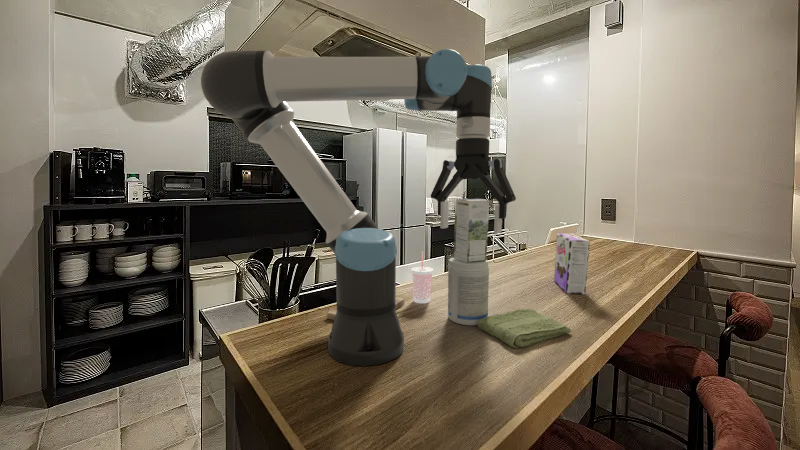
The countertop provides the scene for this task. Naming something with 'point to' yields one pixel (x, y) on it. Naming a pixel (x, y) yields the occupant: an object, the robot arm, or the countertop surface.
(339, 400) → the countertop surface
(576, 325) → the countertop surface
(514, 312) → the washcloth
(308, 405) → the countertop surface
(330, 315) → the beech cutting board
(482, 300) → the supplement tub
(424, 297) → the beverage cup
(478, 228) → the syrup box
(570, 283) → the candy box
